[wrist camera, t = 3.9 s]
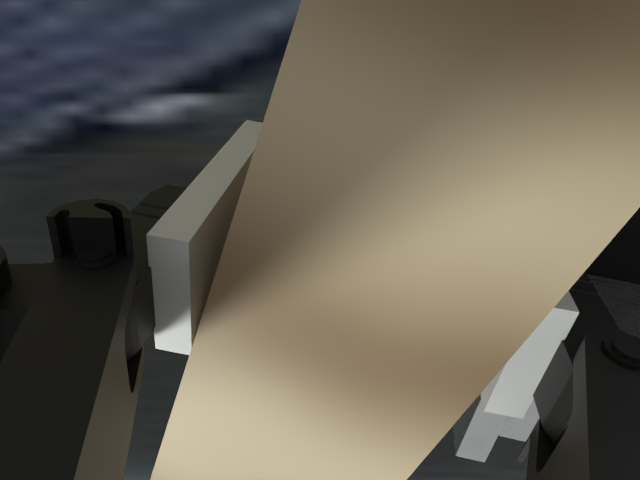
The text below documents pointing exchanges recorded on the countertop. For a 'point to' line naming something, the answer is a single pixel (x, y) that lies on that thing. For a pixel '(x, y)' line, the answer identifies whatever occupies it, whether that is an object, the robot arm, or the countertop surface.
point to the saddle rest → (483, 427)
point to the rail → (405, 228)
